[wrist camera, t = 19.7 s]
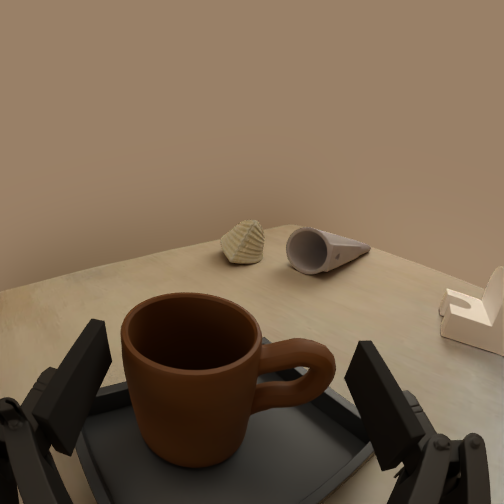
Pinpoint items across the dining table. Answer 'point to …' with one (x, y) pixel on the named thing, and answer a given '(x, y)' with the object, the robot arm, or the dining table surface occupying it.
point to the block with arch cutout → (476, 316)
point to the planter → (321, 250)
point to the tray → (236, 466)
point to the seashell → (244, 242)
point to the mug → (209, 374)
